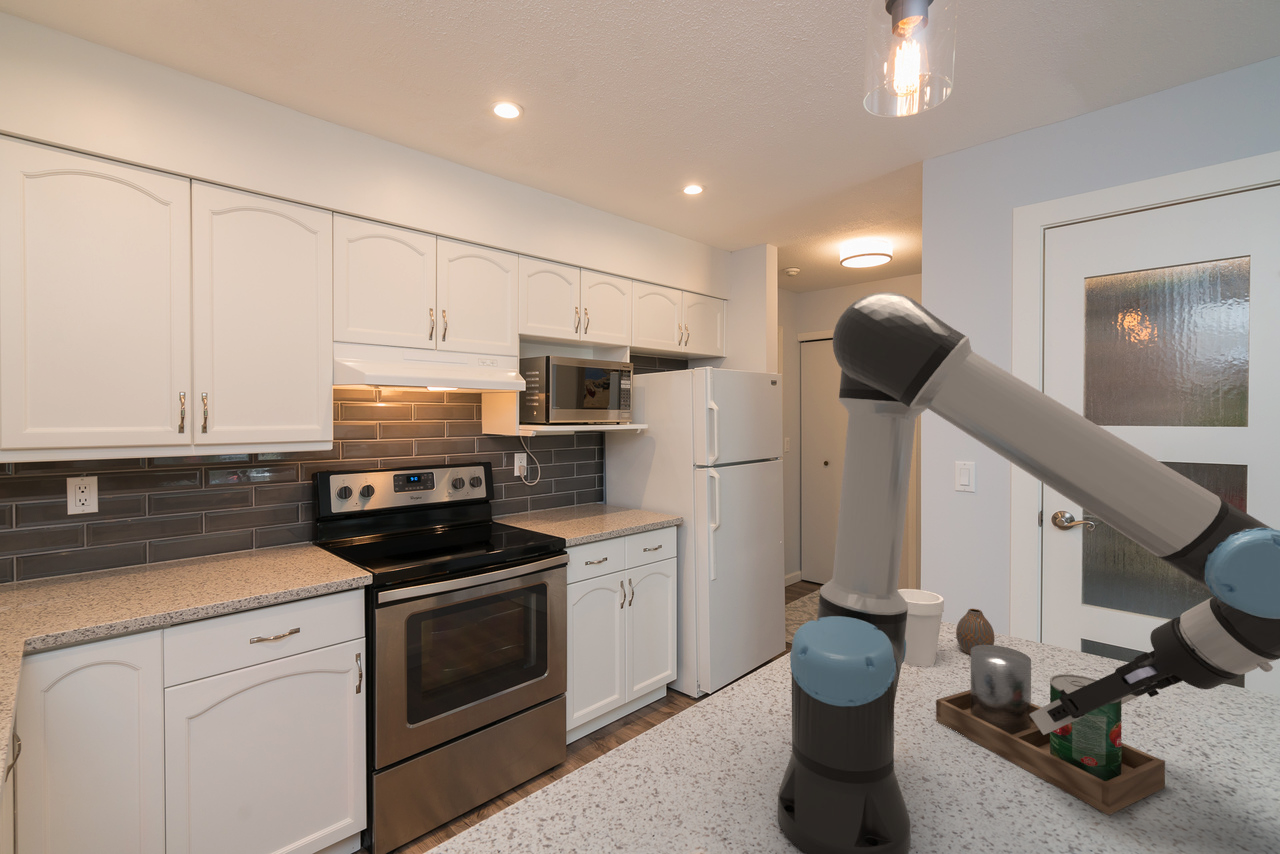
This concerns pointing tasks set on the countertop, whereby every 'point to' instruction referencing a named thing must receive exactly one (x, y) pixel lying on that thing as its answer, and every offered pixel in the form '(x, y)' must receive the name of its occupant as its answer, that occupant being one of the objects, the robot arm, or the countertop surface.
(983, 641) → the vase
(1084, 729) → the canned tomato
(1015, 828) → the countertop surface
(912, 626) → the foam cup
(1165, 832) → the countertop surface
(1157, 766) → the wooden divided tray
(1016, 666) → the seated cylinder
